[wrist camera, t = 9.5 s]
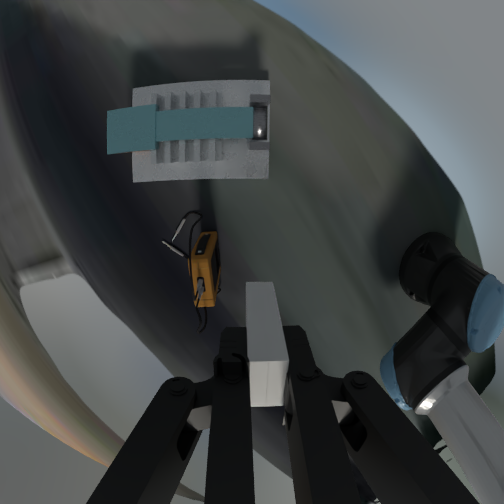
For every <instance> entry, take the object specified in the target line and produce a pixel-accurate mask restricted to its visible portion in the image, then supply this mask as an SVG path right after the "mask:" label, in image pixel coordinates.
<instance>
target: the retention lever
mask: <svg viewBox="0 0 504 504" xmlns="http://www.w3.org/2000/svg"><path fill="white" fill-rule="evenodd" d="M267 118H268V106H265V105H253V106H251V107H209V108H190V109H176V110H165V111H159V105H157V104H150V105H143V106H136V107H129V108H123V109H117V110H111V111H107V154H116V153H124V152H133V151H143V150H155V149H159V142H162V141H175V140H193V139H226V138H251V140H267Z"/></svg>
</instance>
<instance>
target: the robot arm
mask: <svg viewBox="0 0 504 504" xmlns="http://www.w3.org/2000/svg"><path fill="white" fill-rule="evenodd" d="M399 279H400V284H401V287H402V289H403V290H404V292H405V293H406V294H407V295H408V296H409V297H410V298H411V299H413V300H415V301H417V302H420V303H423V304H426V305H429V306H431V307H430V308H429V310H428V311H427V312H426V313H425V314H424V315H423V316H422V317H421V318H420V319H419V320H418V321H417V322H416V324H415V325H414V326H413V327H412V328H411V329H410V330H409V331H408V332H407V333H406V334H405V335H404V336H403V337H402V338H401V339H400V340H399V341H398V342H396V343H395V344H394V345H393V346H392V348H391V349H390V350H389V351H388V353H387V354H386V355H385V356H384V357H383V358H382V360H381V363H380V373H381V377H382V380H383V383H384V385H385V387H386V389H387V391H388V393H389V394H390V396H391V398H392V399H394V400H395V402H396V404H397V405H398V406H399V407H400V408H402V409H404V410H409V409H412V408H413V410H414V411H415V413H416V414H423V415H428V416H429V418H430V419H431V421H432V422H433V424H434V425H435V427H436V428H437V430H438V431H439V433H440V435H441V436H442V438H443V439H444V441H445V443H446V444H447V446H448V447H449V449H450V451H451V452H452V454H453V455H454V457H455V459H456V460H457V462H458V464H459V465H460V467H461V469H462V470H463V472H464V474H465V475H466V477H467V479H468V481H469V482H470V484H471V486H472V488H473V490H474V491H475V493H476V495H477V497H478V498H479V500H480V502H481V504H504V430H503V428H502V427H501V425H500V424H499V422H498V421H497V420H496V418H495V417H494V415H493V414H492V412H491V411H490V410H489V408H488V407H487V405H486V404H485V403H484V401H483V400H482V399H481V397H480V396H479V395H478V393H477V392H476V391H475V389H474V388H473V387H472V385H471V384H470V383H469V382H468V372H469V367H468V365H467V364H466V363H465V362H464V361H463V360H464V359H465V357H466V356H467V355H468V354H469V353H470V352H471V351H472V352H476V353H480V352H483V351H485V349H486V348H489V347H490V346H491V345H492V344H493V343H494V342H495V340H496V339H497V338H498V336H499V335H500V333H501V331H502V329H503V327H504V284H502V283H501V282H500V281H499V280H497V279H496V277H495V276H494V275H492V274H489V273H488V272H486V271H485V270H483V269H482V268H480V267H479V266H477V265H476V264H474V263H473V262H471V261H469V260H468V259H466V258H465V257H463V256H462V254H461V253H460V251H459V250H458V249H457V247H456V246H455V244H454V243H453V242H452V241H451V240H450V239H449V238H448V237H446V236H444V235H442V234H440V233H437V232H431V233H427V234H424V235H422V236H421V237H419V238H418V239H417V240H415V241H414V242H413V243H412V244H411V246H410V247H409V248H408V250H407V251H406V253H405V255H404V257H403V259H402V262H401V266H400V272H399ZM434 322H435V323H436V324H435V323H434ZM213 365H214V376H213V377H212V378H210V379H208V380H206V381H203V382H198V383H193V382H192V381H191V380H190V379H187V378H185V377H174V378H170V379H168V380H166V381H165V382H164V383H163V384H162V386H161V387H160V389H159V390H158V392H157V393H156V395H155V396H154V398H153V400H152V401H151V403H150V404H149V406H148V407H147V409H146V411H145V413H144V414H143V415H142V417H141V418H140V420H139V421H138V423H137V425H136V426H135V428H134V429H133V431H132V432H131V434H130V436H129V437H128V439H127V440H126V442H125V443H124V445H123V446H122V448H121V450H120V451H119V453H118V454H117V456H116V457H115V459H114V461H113V462H112V464H111V465H110V467H109V468H108V470H107V472H106V473H105V475H104V476H103V478H102V479H101V481H100V483H99V484H98V486H97V487H96V489H95V490H94V492H93V494H92V495H91V497H90V498H89V500H88V502H87V503H86V504H170V502H171V500H172V498H173V496H174V494H175V491H176V489H177V487H178V485H179V483H180V480H181V478H182V476H183V474H184V472H185V469H186V467H187V465H188V463H189V460H190V458H191V456H192V454H193V451H194V449H195V447H196V444H197V442H198V440H199V438H200V435H201V433H202V430H203V429H208V428H210V434H209V447H208V459H207V472H206V487H205V502H204V504H255V495H254V472H253V449H252V425H251V407H258V406H283V403H285V412H284V418H283V425H286V433H287V440H288V447H289V454H290V462H291V469H292V477H293V484H294V491H295V499H296V504H361V500H360V497H359V493H358V489H357V485H356V482H355V478H354V475H353V471H352V467H351V464H350V460H349V457H348V453H349V455H350V456H351V458H352V459H353V461H354V462H355V464H356V466H357V467H358V469H359V470H360V472H361V473H362V475H363V477H364V478H365V480H366V481H367V483H368V484H369V486H370V487H371V489H372V491H373V492H374V494H375V495H376V497H377V498H378V500H379V501H380V503H381V504H479V503H478V502H477V500H476V499H475V498H474V497H473V495H472V494H471V493H470V492H469V490H468V489H467V488H466V487H465V486H464V485H463V483H462V482H461V481H460V480H459V478H458V477H457V476H456V475H455V474H454V472H453V471H452V470H451V469H450V468H449V466H448V465H447V464H446V463H445V462H444V461H443V459H442V458H441V457H440V456H439V454H438V453H437V452H436V451H435V450H434V449H433V447H432V446H431V445H430V444H429V443H428V441H427V440H426V439H425V438H424V437H423V435H422V434H421V433H420V432H419V431H418V429H417V428H416V427H415V426H414V425H413V424H412V422H411V421H410V420H409V419H408V418H407V417H406V415H405V414H404V413H403V412H402V411H401V409H400V408H399V407H398V406H397V405H396V404H395V402H394V401H393V400H392V399H391V398H390V397H389V395H388V394H387V393H386V392H385V391H384V390H383V388H382V387H381V386H380V385H379V384H378V383H377V381H376V380H375V379H374V378H373V377H372V376H371V375H370V374H368V373H366V372H363V371H352V372H350V373H348V374H346V375H345V377H344V378H336V377H330V376H327V375H325V374H323V372H322V371H321V369H319V368H318V367H317V366H316V364H315V361H314V358H313V355H312V351H311V348H310V346H309V342H308V340H307V335H306V332H305V331H304V330H303V329H302V328H301V327H300V326H282V323H281V319H280V314H279V309H278V304H277V300H276V295H275V290H274V285H273V282H246V327H226V328H225V329H224V330H223V332H222V333H221V338H220V348H219V354H218V355H217V356H216V357H215V359H214V361H213ZM347 451H348V453H347Z"/></svg>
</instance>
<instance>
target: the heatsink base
mask: <svg viewBox="0 0 504 504" xmlns="http://www.w3.org/2000/svg"><path fill="white" fill-rule="evenodd" d="M150 104H157V105H159V111H165V110H176V109H190V108H209V107H251V106H253V105H265V106H268V118H267V140H251V138H226V139H193V140H175V141H162V142H159V149H155V150H143V151H133V152H132V166H133V182H145V181H162V180H185V179H268V177H269V150H270V142H269V121H270V81H269V80H212V81H194V82H181V83H171V84H162V85H154V86H146V87H140V88H133V99H132V107H136V106H143V105H150ZM124 153H130V152H124ZM116 154H117V153H116Z"/></svg>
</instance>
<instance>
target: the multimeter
mask: <svg viewBox="0 0 504 504" xmlns="http://www.w3.org/2000/svg"><path fill="white" fill-rule="evenodd" d="M191 213H194V214H198V215H200V216H201V217H200V218H199V219H198V220H197V221H196V222H195V223H194V225H193V226H192V228H191V231H190V238H189V258H188V257H186V256H185V255H184V254H182V253H181V252H180V251H178V250H177V249H175V248H174V247H173V246H170V245H168V244H167V243H165V242H164V241H162V242H163V243H165V244H166V245H168V246H169V247H171V248H170V249H172V250H173V251H175V252H176V253H178V254H179V255H181V256H183V257H185V258H187V259H188V267H189V272H190V280H191V288H192V295H193V300H194V302H195V306H196V311H197V314H198V317H199V321H200V324H199V327H198V329H197V333H198V334H200V333H202V332H203V331H204V329H205V327H206V324H207V310H206V307H209V306H215V300H216V295H217V294H218V293H219V292H220V291H221V289H220V288H218V283H219V277H220V271H221V266H220V257H219V248H218V239H217V232H216V231H213V232H202V233H201V234H200V236H199V238H198V240H197V242H196V244H195V246H194V248H193V250H192V252H191V239H192V231H193V228H194V226H195V225H196V224H197V223H198V222H199V221H200V220H201V218H202V214H200V213H197V212H190V213H188V214H187V215H186V216H185V218H184V219H183V220H182V222H181V223H180V225H179V227H178V229H177V230H176V234H177V233H179V231H180V229H181V227H182V226H183V224H184V222H185V219H186V217H187V216H188V215H189V214H191ZM176 234H175V236H176ZM175 236H174V238H175ZM174 238H173V239H172V241H173V240H174ZM217 289H219V291H218V292H217ZM198 307H204V309H205V324H204V327H203V329H202V330H201V331H200V332H199V330H200V328H201V325H202V320H201V316H200V313H199V310H198Z"/></svg>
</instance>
